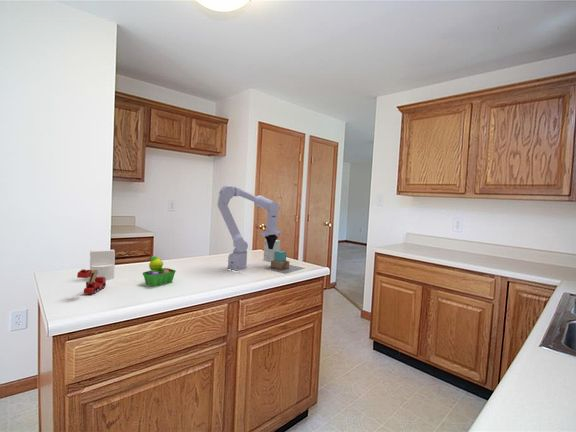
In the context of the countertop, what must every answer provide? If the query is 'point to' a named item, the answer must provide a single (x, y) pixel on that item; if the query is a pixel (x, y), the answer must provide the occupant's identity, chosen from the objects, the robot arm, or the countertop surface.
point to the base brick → (280, 265)
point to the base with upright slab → (103, 263)
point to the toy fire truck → (92, 281)
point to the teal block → (280, 256)
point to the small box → (270, 250)
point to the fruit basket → (158, 273)
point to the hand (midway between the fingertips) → (270, 249)
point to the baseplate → (291, 269)
